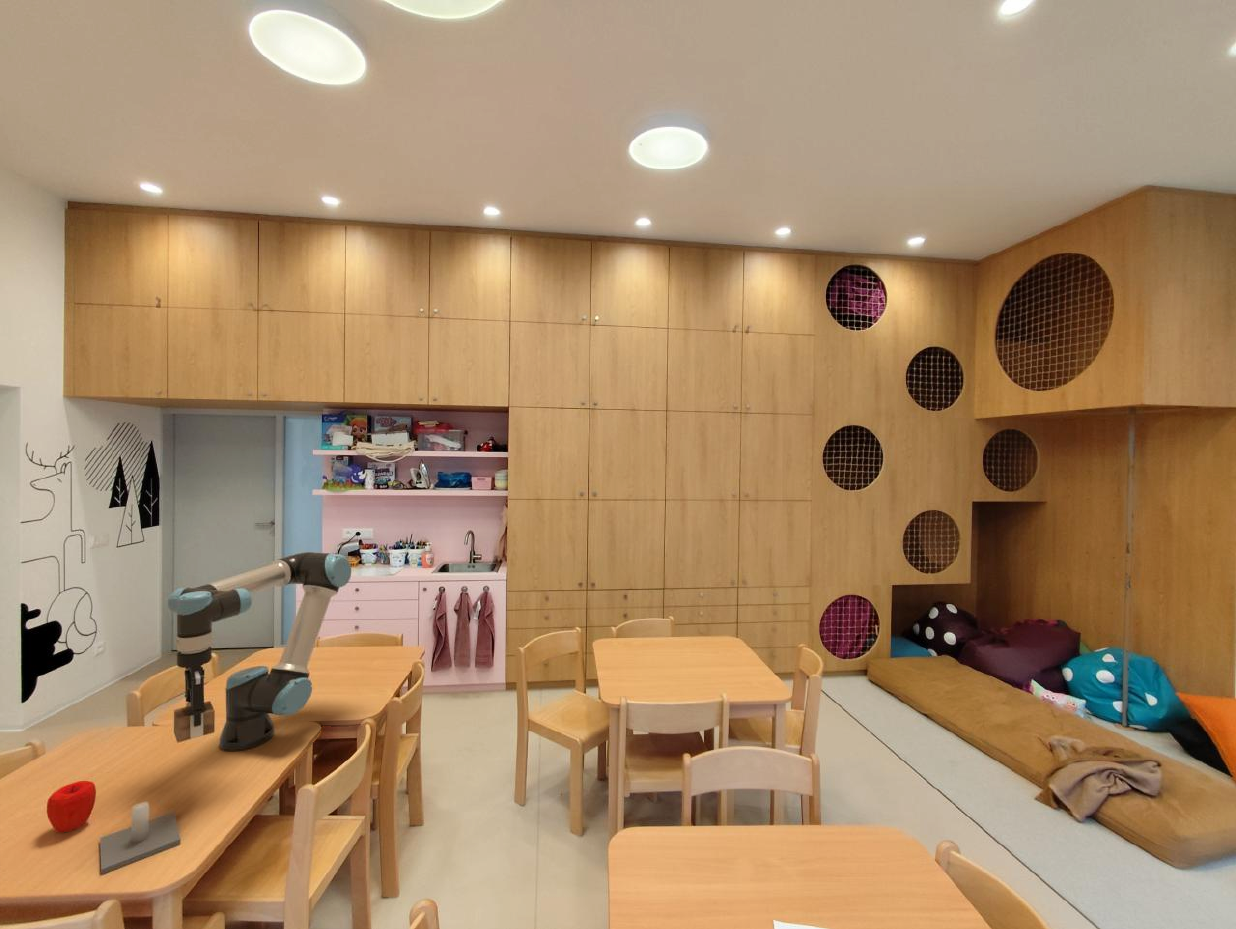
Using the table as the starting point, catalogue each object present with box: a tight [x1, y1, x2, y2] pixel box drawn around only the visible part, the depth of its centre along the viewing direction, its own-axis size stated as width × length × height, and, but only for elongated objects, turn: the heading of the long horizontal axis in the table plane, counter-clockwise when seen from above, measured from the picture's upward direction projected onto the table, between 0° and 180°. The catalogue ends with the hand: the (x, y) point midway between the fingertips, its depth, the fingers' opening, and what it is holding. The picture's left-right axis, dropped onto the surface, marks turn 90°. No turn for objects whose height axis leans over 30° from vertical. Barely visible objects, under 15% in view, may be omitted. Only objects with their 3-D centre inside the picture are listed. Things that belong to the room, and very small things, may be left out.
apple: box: [46, 780, 97, 834], centre depth 136 cm, size 9×9×11 cm
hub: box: [173, 700, 216, 743], centre depth 148 cm, size 8×8×6 cm
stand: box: [99, 801, 181, 876], centre depth 131 cm, size 14×14×9 cm
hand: (194, 730), depth 148 cm, fingers closed on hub, 8 cm apart
